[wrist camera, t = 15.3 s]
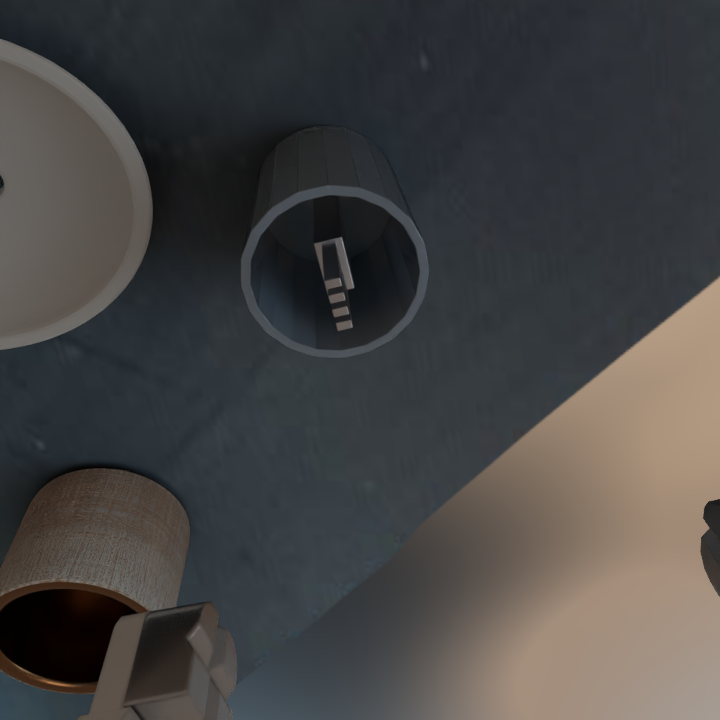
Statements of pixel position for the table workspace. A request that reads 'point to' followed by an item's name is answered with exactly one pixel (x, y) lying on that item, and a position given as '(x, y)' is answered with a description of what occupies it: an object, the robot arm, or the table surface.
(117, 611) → the planter
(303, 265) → the grey cup
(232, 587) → the table surface
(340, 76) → the table surface
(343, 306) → the grey slender bar
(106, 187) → the dish
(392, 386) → the table surface
